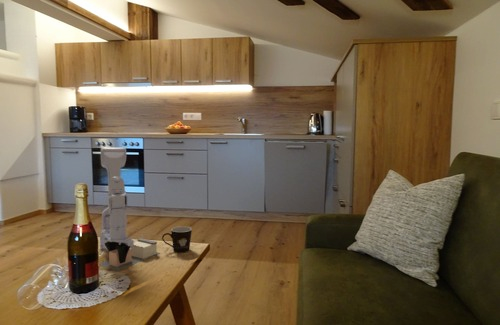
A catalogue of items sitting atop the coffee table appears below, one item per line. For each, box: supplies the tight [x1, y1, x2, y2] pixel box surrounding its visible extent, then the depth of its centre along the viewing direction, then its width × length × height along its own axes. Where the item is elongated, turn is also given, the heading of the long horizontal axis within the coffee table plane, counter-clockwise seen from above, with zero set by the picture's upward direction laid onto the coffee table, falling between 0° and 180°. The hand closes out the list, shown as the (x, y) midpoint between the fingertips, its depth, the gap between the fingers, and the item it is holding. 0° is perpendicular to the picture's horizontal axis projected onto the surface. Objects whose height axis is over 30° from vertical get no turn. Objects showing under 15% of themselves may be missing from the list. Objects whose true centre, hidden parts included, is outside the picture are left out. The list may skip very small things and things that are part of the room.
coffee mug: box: [161, 226, 193, 254], centre depth 149 cm, size 12×9×10 cm
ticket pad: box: [130, 237, 158, 260], centre depth 143 cm, size 9×7×5 cm
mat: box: [98, 251, 161, 272], centre depth 138 cm, size 11×22×1 cm, turn 150°
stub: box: [108, 248, 132, 267], centre depth 133 cm, size 4×7×5 cm, turn 150°
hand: (118, 261), depth 133 cm, fingers closed on stub, 4 cm apart
